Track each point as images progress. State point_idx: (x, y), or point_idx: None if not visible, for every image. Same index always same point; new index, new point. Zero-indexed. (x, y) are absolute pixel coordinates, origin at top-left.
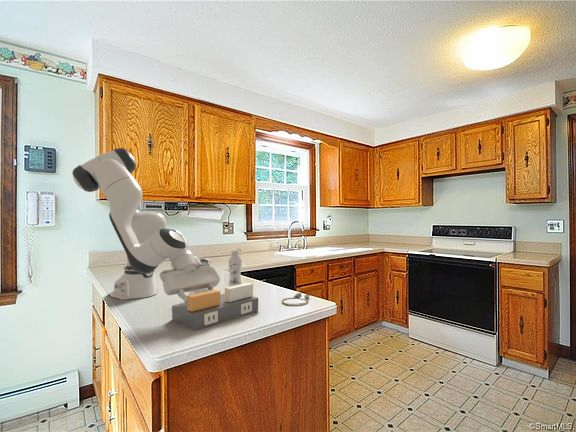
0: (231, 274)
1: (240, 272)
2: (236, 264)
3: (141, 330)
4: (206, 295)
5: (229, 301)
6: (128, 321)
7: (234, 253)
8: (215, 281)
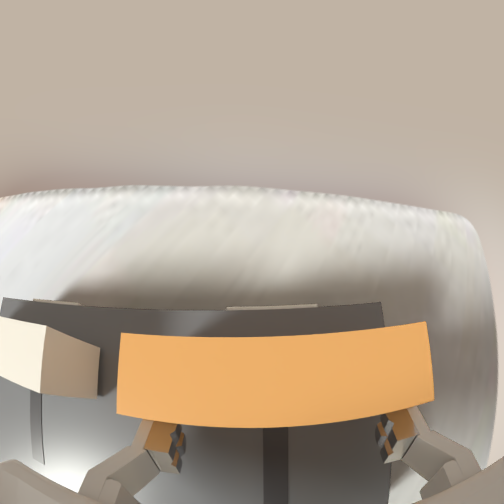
0: None
1: None
2: None
3: (478, 446)
4: (278, 339)
5: (98, 349)
6: None
7: None
8: (42, 477)
